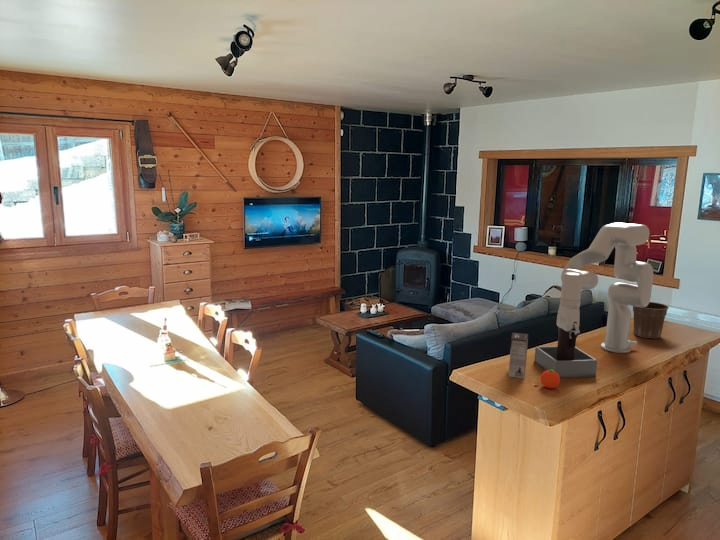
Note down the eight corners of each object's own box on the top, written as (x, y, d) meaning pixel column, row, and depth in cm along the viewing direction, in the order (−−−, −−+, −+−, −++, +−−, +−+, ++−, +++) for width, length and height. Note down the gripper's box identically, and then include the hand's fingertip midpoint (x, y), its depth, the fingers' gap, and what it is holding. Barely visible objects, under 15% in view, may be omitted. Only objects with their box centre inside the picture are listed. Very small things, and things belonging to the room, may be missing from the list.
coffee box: (509, 368, 214) (512, 331, 211) (525, 370, 212) (528, 333, 209) (508, 376, 205) (511, 338, 202) (524, 379, 203) (528, 340, 200)
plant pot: (623, 334, 263) (626, 304, 260) (636, 328, 273) (639, 299, 270) (657, 342, 251) (661, 310, 248) (669, 336, 261) (673, 305, 258)
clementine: (545, 381, 201) (546, 364, 200) (563, 386, 196) (564, 369, 195) (536, 387, 195) (538, 370, 194) (555, 393, 191) (556, 375, 189)
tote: (572, 360, 224) (573, 345, 223) (595, 376, 207) (597, 360, 206) (534, 362, 222) (535, 346, 220) (554, 378, 205) (556, 361, 203)
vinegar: (560, 359, 219) (564, 314, 215) (576, 364, 214) (580, 318, 210) (552, 363, 214) (556, 317, 211) (568, 368, 209) (572, 321, 206)
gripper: (551, 297, 217) (547, 338, 220) (573, 308, 200) (568, 351, 203) (567, 297, 218) (564, 337, 221) (590, 307, 201) (586, 351, 204)
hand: (566, 344), depth 212 cm, fingers closed on vinegar, 6 cm apart
